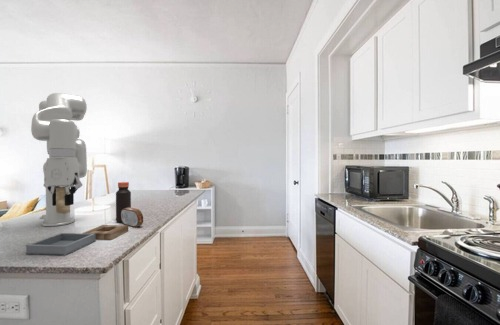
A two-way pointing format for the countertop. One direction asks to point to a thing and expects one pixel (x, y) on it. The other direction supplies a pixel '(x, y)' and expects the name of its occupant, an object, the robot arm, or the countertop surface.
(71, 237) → the tray
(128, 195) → the bottle
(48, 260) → the countertop surface
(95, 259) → the countertop surface
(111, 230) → the holder
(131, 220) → the tin
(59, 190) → the dowel
